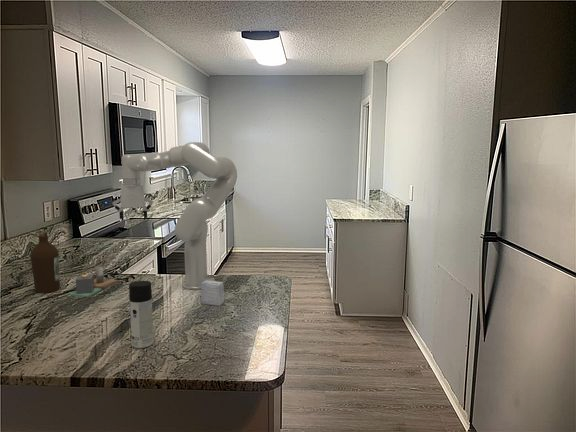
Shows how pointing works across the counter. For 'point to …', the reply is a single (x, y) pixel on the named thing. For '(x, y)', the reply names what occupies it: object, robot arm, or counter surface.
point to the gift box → (85, 284)
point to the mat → (85, 293)
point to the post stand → (102, 279)
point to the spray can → (141, 314)
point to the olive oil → (45, 265)
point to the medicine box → (212, 292)
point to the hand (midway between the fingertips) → (133, 219)
